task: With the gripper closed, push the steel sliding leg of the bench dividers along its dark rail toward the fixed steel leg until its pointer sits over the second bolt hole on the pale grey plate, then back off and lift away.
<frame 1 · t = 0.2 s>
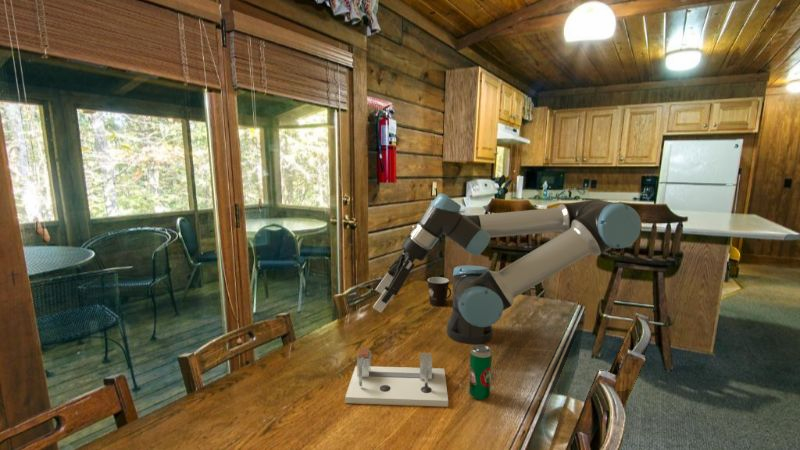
hand: (377, 300, 109), 16 cm above the table, tool tilted 35°, fingers open, 13 cm apart
sliding leg: (362, 366, 94), point 5 cm above the table, slide at 6.0 cm
coffee mug: (438, 305, 150), on the table
soda can: (479, 395, 90), on the table
fixed leg: (426, 369, 93), on the bolt plate, point 5 cm above the table
bolt plate: (398, 387, 93), on the table
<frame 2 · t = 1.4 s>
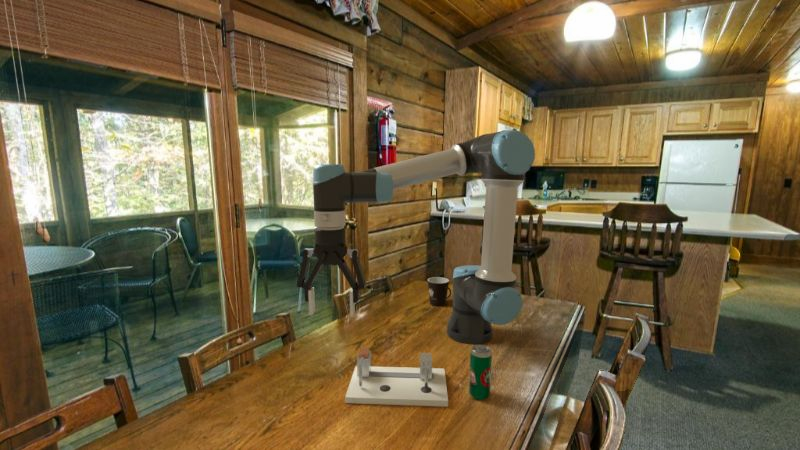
hand: (332, 313, 95), 18 cm above the table, tool pointing down, fingers open, 10 cm apart
nothing on the table moved.
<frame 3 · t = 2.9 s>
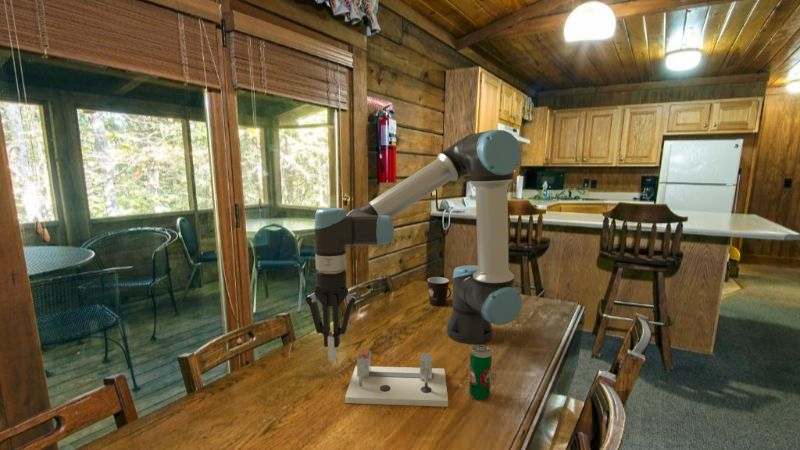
hand: (332, 358, 96), 6 cm above the table, tool pointing down, fingers closed
nothing on the table moved.
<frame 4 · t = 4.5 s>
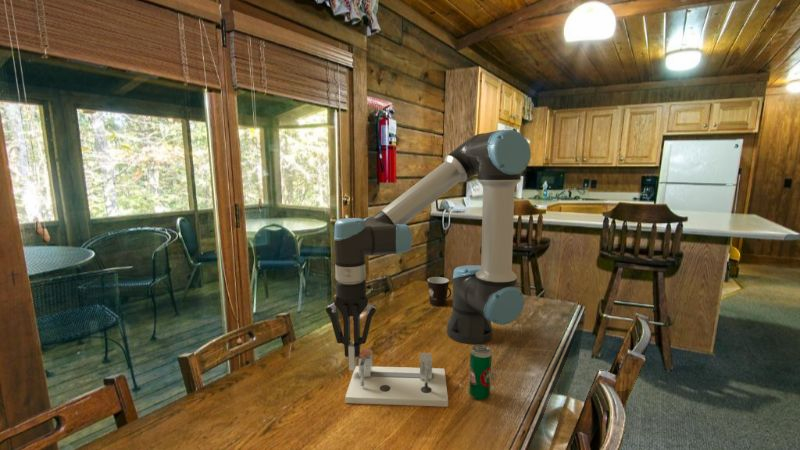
hand: (352, 367, 96), 3 cm above the table, tool pointing down, fingers closed
sliding leg: (364, 366, 94), point 5 cm above the table, slide at 5.6 cm, touching gripper
everything else where it was.
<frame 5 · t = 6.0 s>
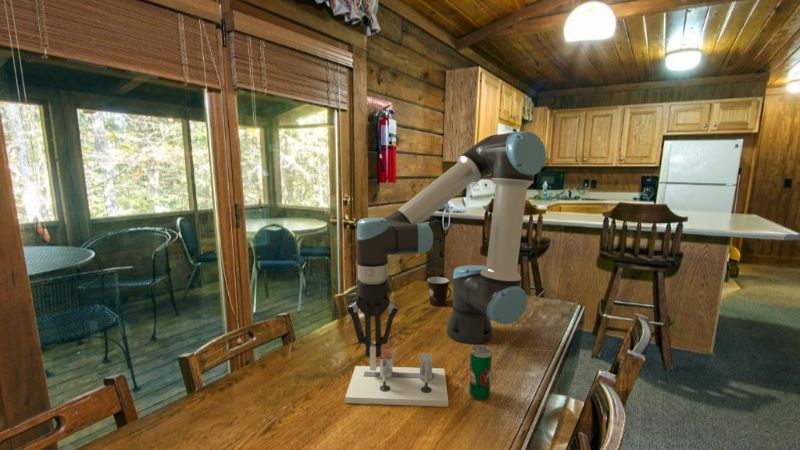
hand: (373, 367, 96), 3 cm above the table, tool pointing down, fingers closed
sliding leg: (385, 367, 93), point 5 cm above the table, slide at 0.2 cm, touching gripper
everything else where it was.
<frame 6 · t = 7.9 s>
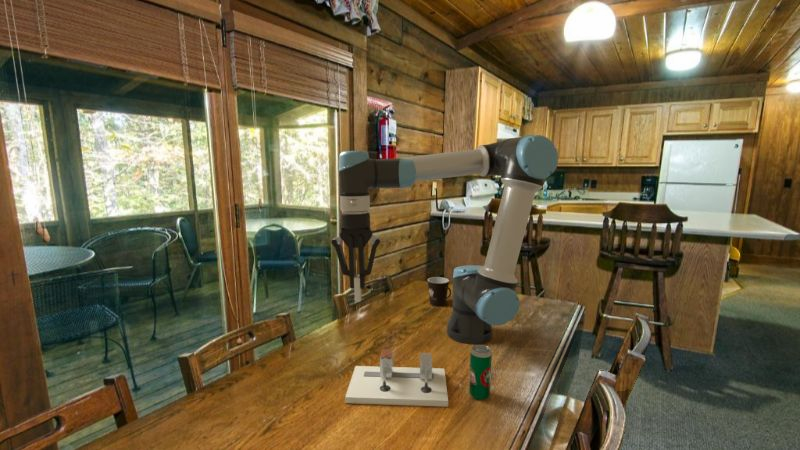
hand: (358, 299, 99), 20 cm above the table, tool pointing down, fingers closed
sliding leg: (385, 367, 93), point 5 cm above the table, slide at 0.2 cm
everything else where it was.
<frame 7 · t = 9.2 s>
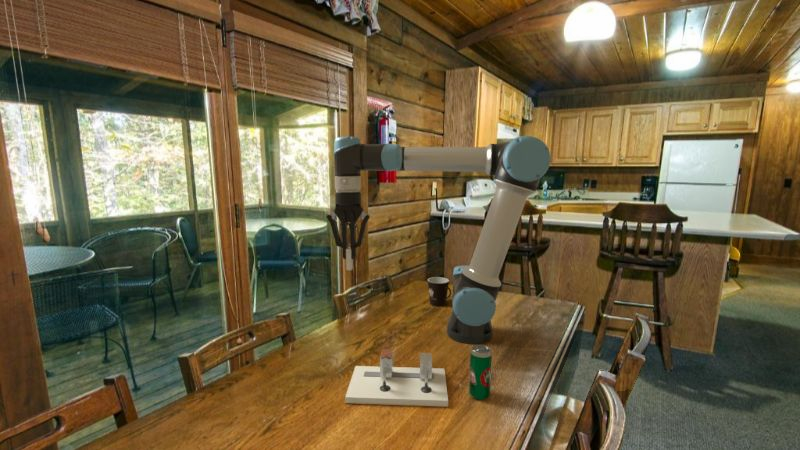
hand: (349, 269, 112), 24 cm above the table, tool pointing down, fingers closed
nothing on the table moved.
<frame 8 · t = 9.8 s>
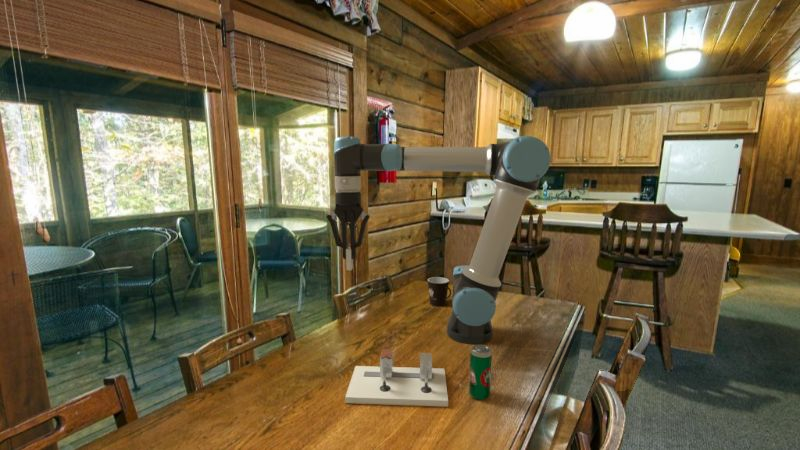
hand: (349, 269, 112), 24 cm above the table, tool pointing down, fingers closed
nothing on the table moved.
at the end: sliding leg slide at 0.2 cm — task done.
